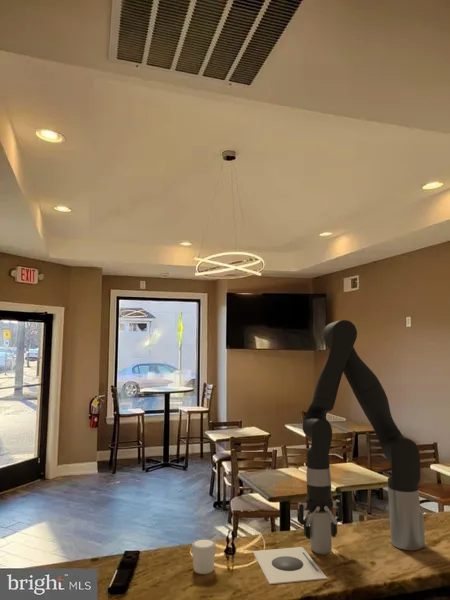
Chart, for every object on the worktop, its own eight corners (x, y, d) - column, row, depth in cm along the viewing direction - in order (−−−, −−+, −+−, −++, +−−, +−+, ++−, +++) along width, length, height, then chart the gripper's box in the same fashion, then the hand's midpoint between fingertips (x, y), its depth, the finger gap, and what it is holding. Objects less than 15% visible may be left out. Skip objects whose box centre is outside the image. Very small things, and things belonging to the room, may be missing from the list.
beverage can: (330, 546, 140) (328, 506, 142) (333, 555, 134) (331, 513, 136) (309, 546, 141) (308, 506, 143) (311, 555, 135) (310, 513, 136)
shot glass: (197, 577, 122) (197, 549, 123) (187, 566, 128) (187, 540, 129) (220, 571, 125) (219, 544, 126) (209, 561, 131) (209, 536, 132)
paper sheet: (302, 547, 140) (302, 546, 140) (327, 578, 120) (327, 577, 120) (252, 552, 137) (252, 550, 137) (269, 584, 118) (269, 582, 118)
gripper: (335, 477, 145) (337, 530, 143) (293, 480, 143) (294, 534, 141) (345, 483, 138) (347, 540, 136) (300, 486, 135) (302, 543, 133)
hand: (320, 537), depth 138 cm, fingers open, 7 cm apart
